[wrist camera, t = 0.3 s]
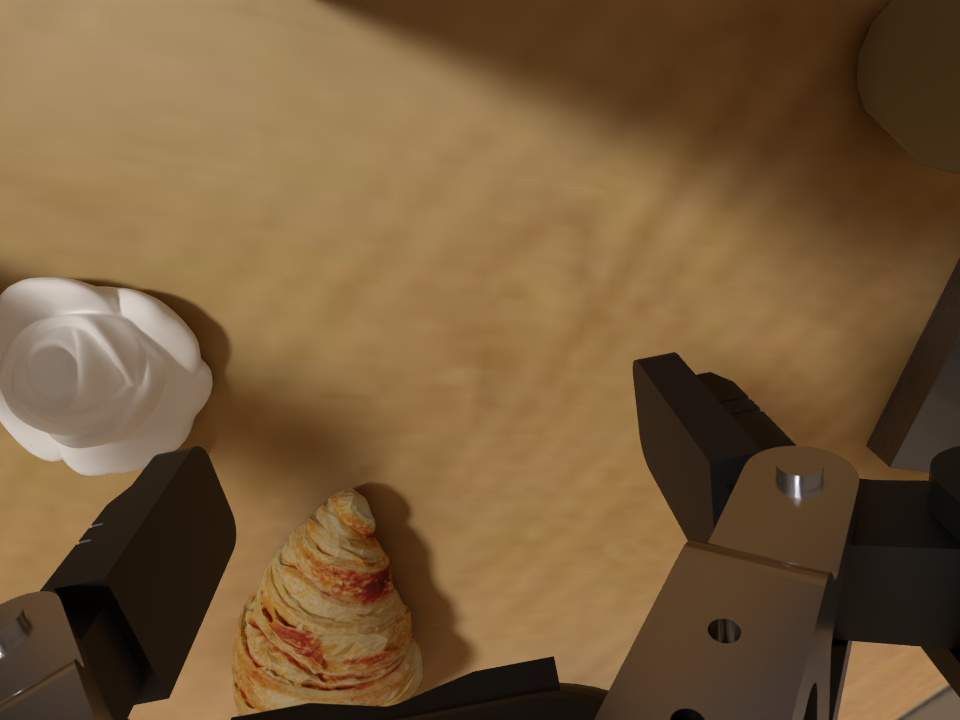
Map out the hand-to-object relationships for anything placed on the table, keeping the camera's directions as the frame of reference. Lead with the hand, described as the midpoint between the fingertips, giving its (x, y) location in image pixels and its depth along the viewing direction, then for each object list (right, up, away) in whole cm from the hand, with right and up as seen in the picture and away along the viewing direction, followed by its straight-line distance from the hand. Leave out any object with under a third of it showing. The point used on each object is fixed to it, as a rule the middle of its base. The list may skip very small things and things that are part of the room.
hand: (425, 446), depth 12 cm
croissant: (-7, -14, +26) cm, 30 cm away
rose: (-16, +1, +19) cm, 25 cm away
